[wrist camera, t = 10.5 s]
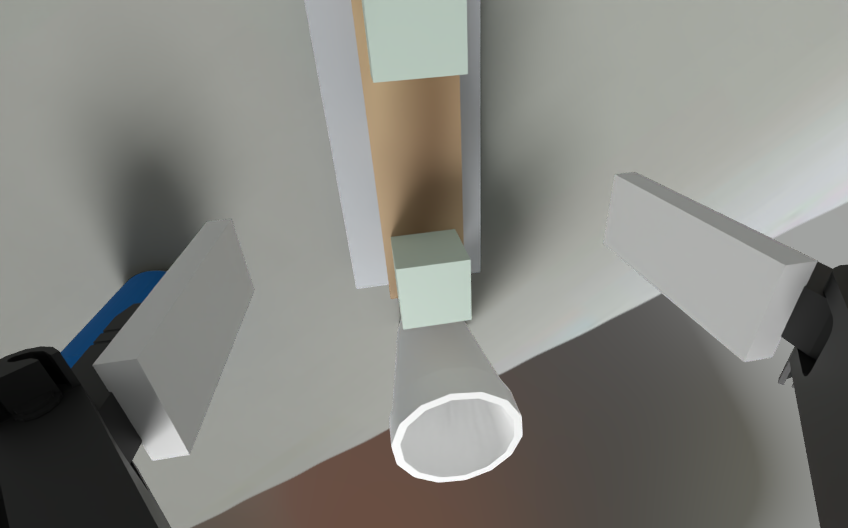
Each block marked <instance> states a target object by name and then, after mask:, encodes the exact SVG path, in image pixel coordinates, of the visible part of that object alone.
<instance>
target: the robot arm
mask: <svg viewBox="0 0 848 528" xmlns="http://www.w3.org/2000/svg"><path fill="white" fill-rule="evenodd" d="M603 244H604V245H605V246H606V247H607V248H609V249H610V250H611V251H612V252H613V253H615V254H616V255H617V256H618V257H619V258H621V259H622V260H623V261H624V262H625V263H626V264H628V265H629V266H630V267H631V268H632V269H634V270H635V271H636V272H637V273H638V274H640V275H641V276H642V277H643V278H644V279H646V280H647V281H648V282H649V283H650V284H652V285H653V286H654V287H655V288H656V289H657V290H659V291H660V292H661V293H662V294H663V295H665V296H666V297H667V298H668V299H670V300H671V301H672V302H673V303H674V304H675V305H677V306H678V307H679V308H680V309H681V310H683V311H684V312H685V313H686V314H687V315H689V316H690V317H691V318H692V319H693V320H694V321H696V322H697V323H698V324H699V325H701V326H702V327H703V328H704V329H705V330H707V331H708V332H709V333H710V334H711V335H712V336H714V337H715V338H716V339H717V340H718V341H719V342H721V343H722V344H723V345H724V346H725V347H727V348H728V349H729V350H730V351H732V352H733V353H734V354H735V355H736V356H737V357H739V358H740V359H741V360H742V361H743V362H748V361H754V360H760V359H766V358H772V357H773V355H774V353H775V350H776V349H777V346H778V344H779V342H780V340H781V338H782V337H783V338H784V339H785V340H787V341H788V342H790V343H791V344H792V345H794V346H795V347H794V349H793V351H792V353H791V355H790V357H789V359H788V361H787V363H786V365H785V367H784V369H783V371H782V373H781V375H780V377H779V380H778V383H779V384H782V385H783V384H784V383H785V381H786V379H788V378H791V377H792V378H793V385H792V387H793V388H795V394H796V398H797V404H798V409H799V415H800V421H801V425H802V431H803V437H804V442H805V447H806V453H807V458H808V463H809V468H810V474H811V479H812V485H813V490H814V495H815V501H816V506H817V511H818V517H819V522H820V527H821V528H848V265H840V266H838V267H835V268H834V269H832V268H830V267H828V266H826V265H823V264H822V263H819V262H818V261H817V260H815V259H813V258H811V257H809V256H807V255H805V254H803V253H801V252H799V251H797V250H794V249H792V248H791V247H788V246H786V245H784V244H782V243H780V242H778V241H776V240H774V239H772V238H770V237H768V236H766V235H764V234H762V233H760V232H758V231H756V230H753V229H751V228H749V227H747V226H745V225H743V224H741V223H739V222H737V221H735V220H733V219H731V218H729V217H727V216H725V215H723V214H721V213H719V212H716V211H714V210H712V209H710V208H708V207H706V206H704V205H702V204H700V203H698V202H696V201H694V200H692V199H690V198H688V197H686V196H684V195H682V194H679V193H677V192H675V191H673V190H671V189H669V188H667V187H665V186H663V185H661V184H659V183H657V182H655V181H653V180H651V179H649V178H647V177H644V176H642V175H640V174H638V173H636V172H630V173H621V174H615V176H614V181H613V187H612V193H611V199H610V205H609V211H608V217H607V223H606V229H605V235H604V241H603ZM254 290H255V289H254V286H253V283H252V280H251V277H250V274H249V271H248V268H247V265H246V261H245V258H244V255H243V252H242V249H241V246H240V243H239V240H238V237H237V234H236V231H235V228H234V225H233V221H232V219H224V220H215V221H207V222H206V223H205V225H204V226H203V227H202V228H201V230H200V231H199V232H198V233H197V235H196V236H195V237H194V238H193V240H192V241H191V242H190V243H189V245H188V246H187V247H186V248H185V250H184V251H183V252H182V253H181V255H180V256H179V257H178V258H177V260H176V261H175V262H174V263H173V265H172V266H171V267H170V268H169V270H168V271H167V272H166V273H165V275H164V276H163V277H162V278H161V280H160V281H159V282H158V283H157V285H156V286H155V287H154V288H153V290H152V291H151V292H150V293H149V295H148V296H147V297H146V298H145V300H144V301H143V302H142V303H136V304H133V305H131V306H130V307H128V308H127V309H125V310H124V311H123V312H121V313H120V314H118V315H117V316H115V317H114V319H113V320H112V321H111V322H110V323H109V324H108V326H107V327H106V328H105V329H104V330H103V333H101V334H100V335H99V336H98V337H97V338H96V340H95V341H94V342H93V343H94V345H91V346H90V347H89V348H88V349H87V350H86V351H85V353H84V354H83V355H82V356H81V357H80V358H79V360H78V361H77V362H76V363H75V364H74V365H73V367H72V368H70V367H69V365H68V364H67V362H66V361H65V359H64V358H63V356H62V355H61V353H60V352H59V351H58V350H57V349H55V348H54V347H36V348H31V349H25V350H22V351H19V352H17V353H14V354H11V355H8V356H6V357H4V358H2V359H0V528H171V527H170V525H169V523H168V521H167V519H166V518H165V516H164V514H163V512H162V511H161V509H160V507H159V505H158V504H157V502H156V500H155V498H154V497H153V495H152V493H151V491H150V489H149V488H148V486H147V484H146V482H145V481H144V479H143V477H142V475H141V474H140V472H139V470H138V468H137V467H136V466H135V464H134V463H133V461H132V460H133V458H134V456H135V454H136V452H137V450H138V448H139V446H140V445H141V443H142V445H143V447H144V448H145V450H146V451H147V453H148V454H149V456H150V458H151V459H152V461H154V460H160V459H166V458H172V457H178V456H184V455H190V452H191V450H192V447H193V445H194V442H195V440H196V437H197V435H198V432H199V430H200V427H201V425H202V422H203V420H204V417H205V414H206V412H207V409H208V407H209V404H210V402H211V399H212V397H213V394H214V392H215V389H216V387H217V384H218V382H219V379H220V376H221V374H222V371H223V369H224V366H225V364H226V361H227V359H228V356H229V354H230V351H231V349H232V346H233V344H234V341H235V339H236V336H237V333H238V331H239V328H240V326H241V323H242V321H243V318H244V316H245V313H246V311H247V308H248V306H249V303H250V301H251V298H252V295H253V293H254Z"/></svg>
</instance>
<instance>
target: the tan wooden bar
mask: <svg viewBox="0 0 848 528" xmlns="http://www.w3.org/2000/svg"><path fill="white" fill-rule="evenodd" d="M351 4H352V12H353V19H354V27H355V35H356V42H357V50H358V57H359V65H360V72H361V80H362V87H363V95H364V102H365V110H366V117H367V125H368V132H369V140H370V147H371V155H372V162H373V170H374V177H375V185H376V192H377V200H378V207H379V215H380V222H381V230H382V237H383V245H384V252H385V260H386V267H387V275H388V282H389V290H390V297H391V299H394V298H398V293H397V286H396V278H395V269H394V261H393V253H392V245H391V237H394V236H402V235H410V234H418V233H426V232H434V231H442V230H450V229H455V230H456V232H457V234H458V236H459V238H460V240H461V242H462V244H463V246H464V236H463V194H462V152H461V110H460V75H454V76H443V77H432V78H421V79H410V80H399V81H388V82H377V83H373V80H372V77H371V73H370V65H369V57H368V49H367V41H366V33H365V24H364V16H363V8H362V0H351Z"/></svg>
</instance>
